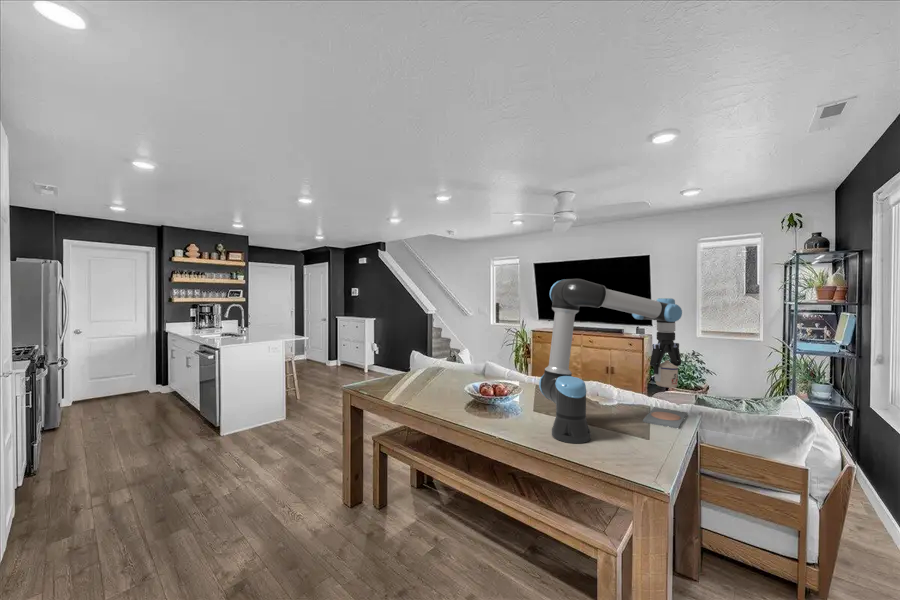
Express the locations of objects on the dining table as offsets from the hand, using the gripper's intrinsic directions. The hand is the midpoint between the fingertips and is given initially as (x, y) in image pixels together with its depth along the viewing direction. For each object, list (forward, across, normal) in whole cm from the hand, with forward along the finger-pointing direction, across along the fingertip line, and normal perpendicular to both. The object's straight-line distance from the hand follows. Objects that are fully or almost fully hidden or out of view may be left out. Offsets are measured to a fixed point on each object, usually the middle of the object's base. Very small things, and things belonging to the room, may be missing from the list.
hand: (665, 380), depth 176 cm
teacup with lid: (+3, -1, 0) cm, 3 cm away
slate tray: (+18, 0, 0) cm, 18 cm away
